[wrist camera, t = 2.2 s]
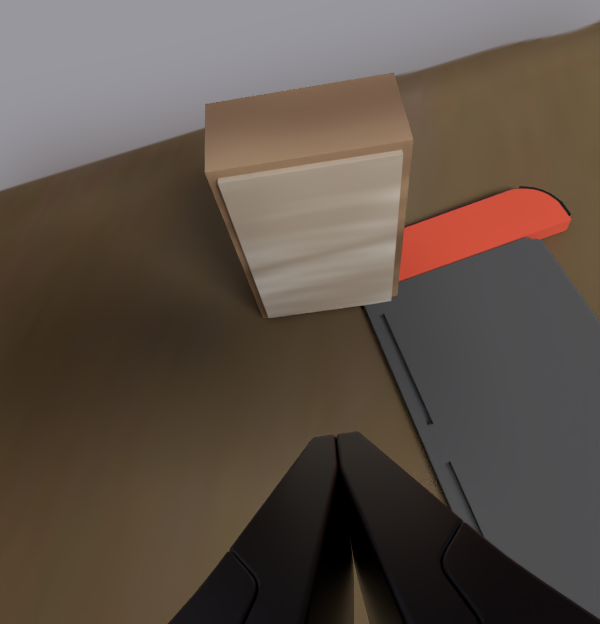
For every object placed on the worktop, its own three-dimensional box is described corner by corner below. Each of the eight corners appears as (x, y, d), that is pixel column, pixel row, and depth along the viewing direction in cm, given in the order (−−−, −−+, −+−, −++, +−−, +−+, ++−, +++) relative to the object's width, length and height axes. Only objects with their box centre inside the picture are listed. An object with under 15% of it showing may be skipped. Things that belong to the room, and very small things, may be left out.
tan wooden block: (397, 303, 21) (414, 144, 14) (263, 322, 22) (204, 177, 14) (385, 245, 23) (393, 72, 15) (259, 263, 23) (205, 104, 16)
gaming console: (559, 773, 14) (888, 662, 14) (570, 787, 13) (923, 668, 13) (342, 261, 24) (537, 192, 24) (340, 248, 23) (543, 176, 23)
